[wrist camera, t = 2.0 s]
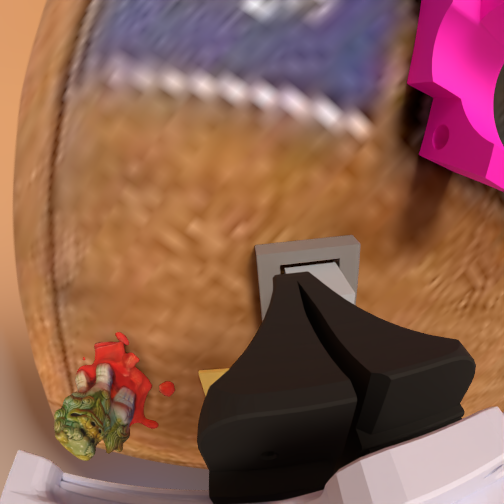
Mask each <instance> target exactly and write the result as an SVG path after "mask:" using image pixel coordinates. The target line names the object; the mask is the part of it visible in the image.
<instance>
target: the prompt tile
mask: <svg viewBox="0 0 504 504" xmlns="http://www.w3.org/2000/svg"><path fill="white" fill-rule="evenodd" d="M229 369H230V368H225V369H212V370H199V373H198V374H199V377H200V380H201V384H202V387H203V390H204V393H205V396H206V395H207V392H208V389H209V387H210V386H211V385H212V384H213V383H214V382H215V381H216V380H218V379H219V378H220V377H221V376H222V375H223V374H224V373H225V372H227V371H228V370H229Z"/></svg>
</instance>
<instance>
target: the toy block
mask: <svg viewBox="0 0 504 504" xmlns="http://www.w3.org/2000/svg"><path fill="white" fill-rule="evenodd" d="M503 64H504V0H421V7H420V14H419V21H418V27H417V33H416V39H415V45H414V50H413V56H412V61H411V66H410V71H409V75H408V80H407V84H408V85H410V86H412V87H414V88H416V89H418V90H420V91H421V92H423V93H425V94H427V95H429V96H431V97H432V98H433V101H432V106H431V110H430V114H429V118H428V123H427V126H426V130H425V134H424V138H423V142H422V145H421V149H420V152H419V156H421V157H424V158H426V159H428V160H430V161H432V162H434V163H437V164H439V165H441V166H443V167H445V168H447V169H449V170H451V171H453V172H456V173H458V174H461V175H464V176H466V177H469V178H471V179H474V180H476V181H479V182H481V183H484V184H486V185H489V186H491V187H493V188H496V189H498V190H500V191H502V192H504V146H503V145H502V143H501V141H500V138H499V136H498V133H497V130H496V126H495V122H494V115H493V97H494V90H495V85H496V81H497V78H498V75H499V72H500V70H501V68H502V66H503Z"/></svg>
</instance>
